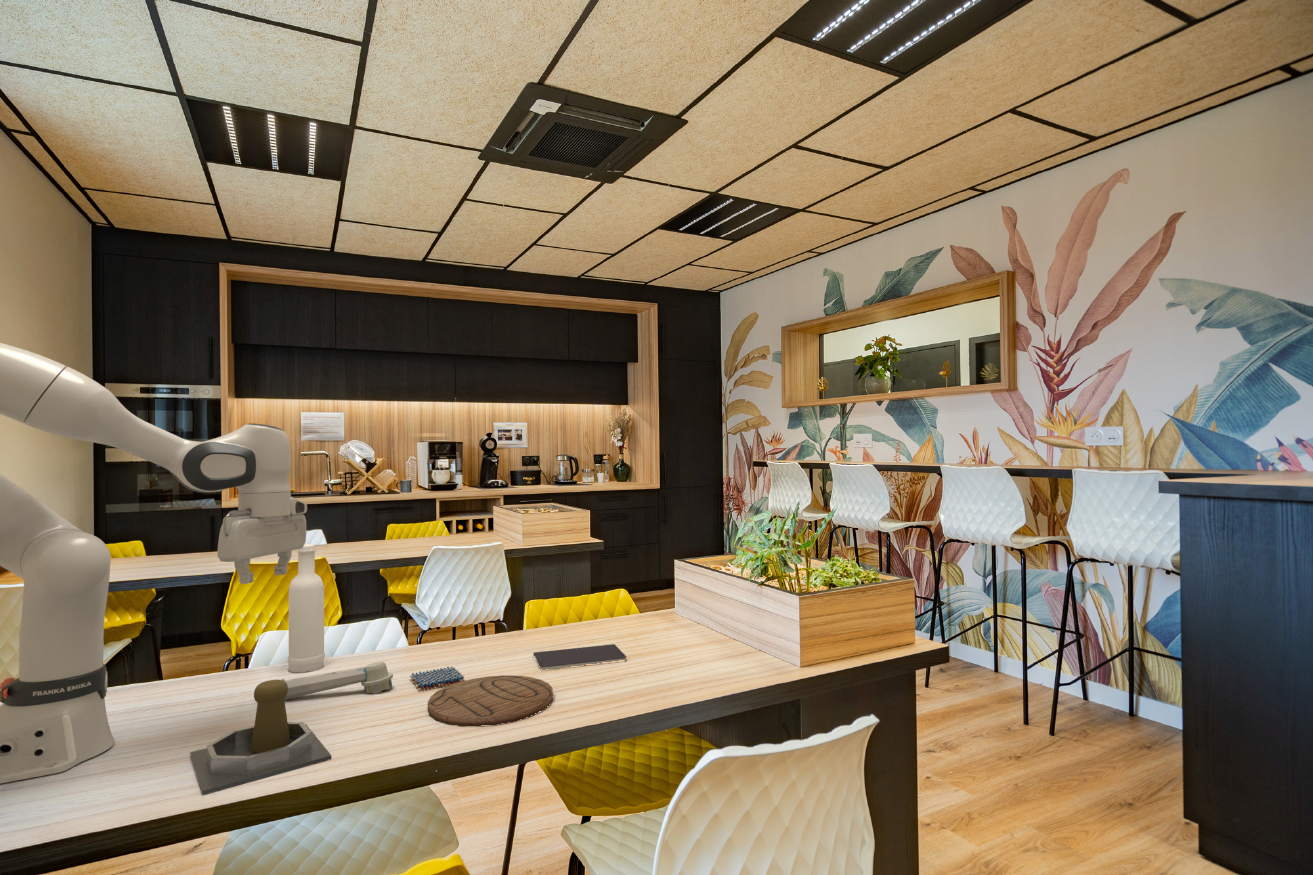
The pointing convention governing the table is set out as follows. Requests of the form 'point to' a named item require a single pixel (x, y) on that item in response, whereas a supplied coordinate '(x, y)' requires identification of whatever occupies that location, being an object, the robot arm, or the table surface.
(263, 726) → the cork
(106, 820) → the table surface
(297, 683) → the toothbrush head
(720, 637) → the table surface
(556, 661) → the notebook
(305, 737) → the duct collar
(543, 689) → the trivet
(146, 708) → the table surface
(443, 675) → the woven mat
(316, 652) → the bottle
